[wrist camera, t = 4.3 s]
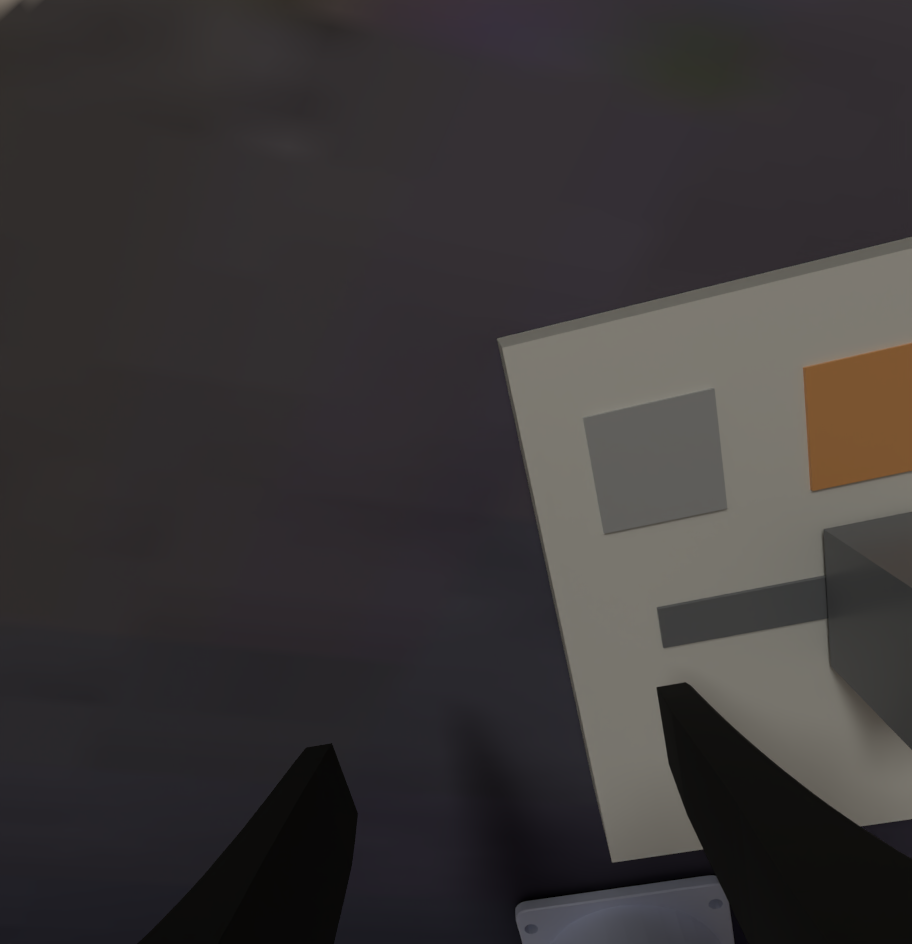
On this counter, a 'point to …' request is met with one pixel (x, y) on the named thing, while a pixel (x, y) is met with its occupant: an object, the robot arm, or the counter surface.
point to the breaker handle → (873, 614)
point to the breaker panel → (720, 521)
